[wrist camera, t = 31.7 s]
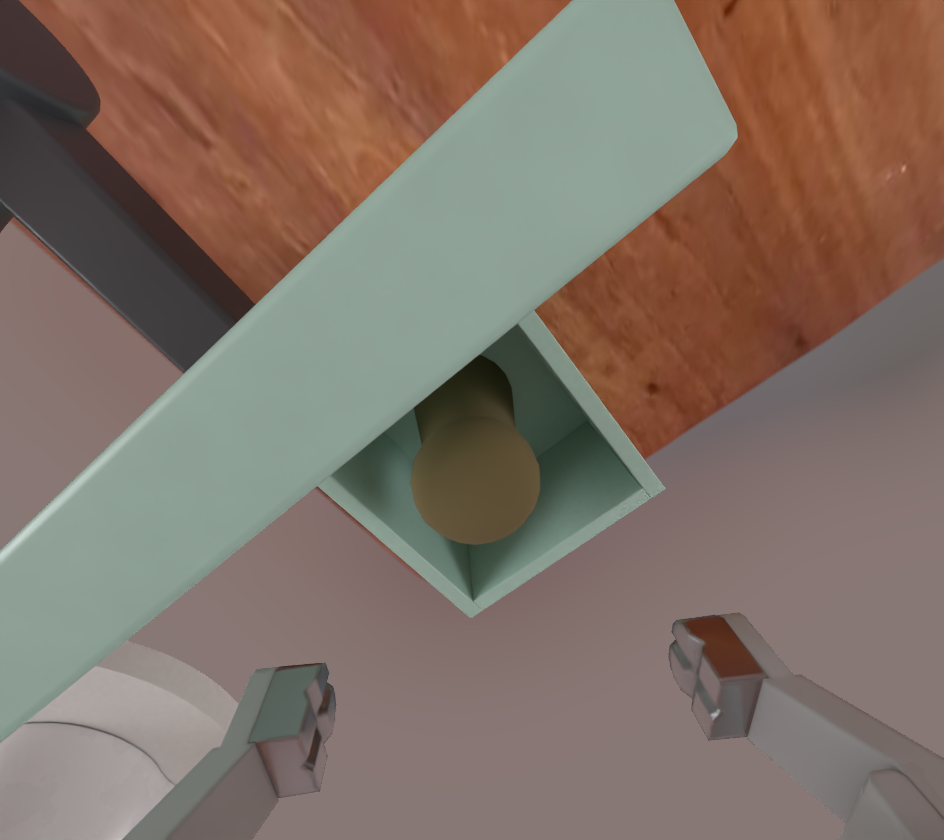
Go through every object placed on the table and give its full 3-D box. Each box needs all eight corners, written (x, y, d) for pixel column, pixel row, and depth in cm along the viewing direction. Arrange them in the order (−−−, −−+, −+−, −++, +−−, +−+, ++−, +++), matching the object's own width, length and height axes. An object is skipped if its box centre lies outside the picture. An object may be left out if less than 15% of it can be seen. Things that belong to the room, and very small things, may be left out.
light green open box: (600, 416, 28) (666, 489, 20) (461, 517, 30) (470, 619, 22) (467, 239, 23) (482, 239, 15) (315, 373, 26) (258, 436, 17)
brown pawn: (517, 353, 25) (570, 430, 15) (509, 447, 27) (550, 568, 17) (412, 350, 25) (394, 428, 14) (412, 446, 27) (398, 571, 17)
